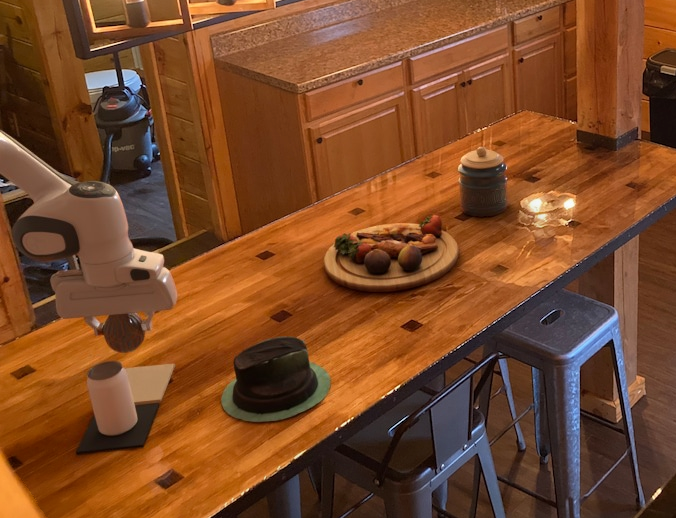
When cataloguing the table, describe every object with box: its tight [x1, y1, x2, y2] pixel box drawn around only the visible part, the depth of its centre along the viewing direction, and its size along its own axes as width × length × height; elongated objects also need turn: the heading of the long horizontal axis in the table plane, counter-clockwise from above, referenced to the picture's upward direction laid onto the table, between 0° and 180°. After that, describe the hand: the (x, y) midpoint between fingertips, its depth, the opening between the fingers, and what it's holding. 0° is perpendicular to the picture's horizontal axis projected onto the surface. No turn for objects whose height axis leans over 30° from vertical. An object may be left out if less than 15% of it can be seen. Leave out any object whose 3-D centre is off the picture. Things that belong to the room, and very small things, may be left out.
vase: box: [103, 313, 146, 354], centre depth 178 cm, size 7×7×9 cm
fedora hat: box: [220, 336, 332, 423], centre depth 181 cm, size 15×19×20 cm
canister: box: [457, 146, 509, 218], centre depth 254 cm, size 13×13×18 cm
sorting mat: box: [75, 363, 176, 455], centre depth 177 cm, size 11×25×1 cm, turn 10°
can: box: [86, 360, 137, 436], centre depth 169 cm, size 6×6×12 cm
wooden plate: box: [322, 214, 460, 293], centre depth 228 cm, size 32×32×8 cm
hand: (124, 331), depth 178 cm, fingers closed on vase, 7 cm apart
